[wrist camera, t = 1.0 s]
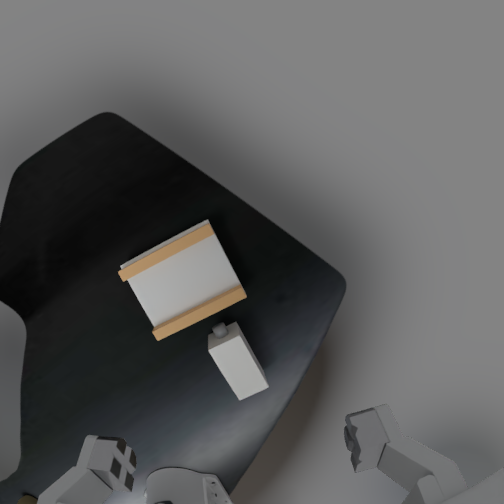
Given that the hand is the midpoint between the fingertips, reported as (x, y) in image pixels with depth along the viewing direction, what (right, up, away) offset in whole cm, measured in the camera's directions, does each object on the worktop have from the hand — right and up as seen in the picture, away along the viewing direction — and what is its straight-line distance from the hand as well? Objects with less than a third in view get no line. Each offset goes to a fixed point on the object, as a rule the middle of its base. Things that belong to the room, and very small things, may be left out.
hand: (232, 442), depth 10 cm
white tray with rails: (-9, +3, +37) cm, 39 cm away
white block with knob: (-2, -10, +40) cm, 41 cm away
